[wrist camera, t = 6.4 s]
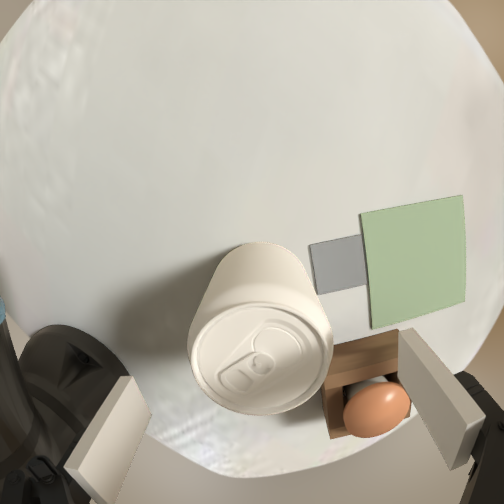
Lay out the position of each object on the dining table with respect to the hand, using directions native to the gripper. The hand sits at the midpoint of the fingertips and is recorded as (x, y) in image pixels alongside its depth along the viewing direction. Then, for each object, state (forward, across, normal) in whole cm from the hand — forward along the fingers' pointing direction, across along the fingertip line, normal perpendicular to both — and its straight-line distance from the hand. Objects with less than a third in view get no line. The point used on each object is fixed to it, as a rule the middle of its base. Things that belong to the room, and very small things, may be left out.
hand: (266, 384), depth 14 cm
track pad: (+14, +7, +1) cm, 15 cm away
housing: (+14, +8, -11) cm, 19 cm away
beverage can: (+14, 0, 0) cm, 14 cm away
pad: (+14, +15, -1) cm, 20 cm away
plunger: (+13, +8, -11) cm, 19 cm away
